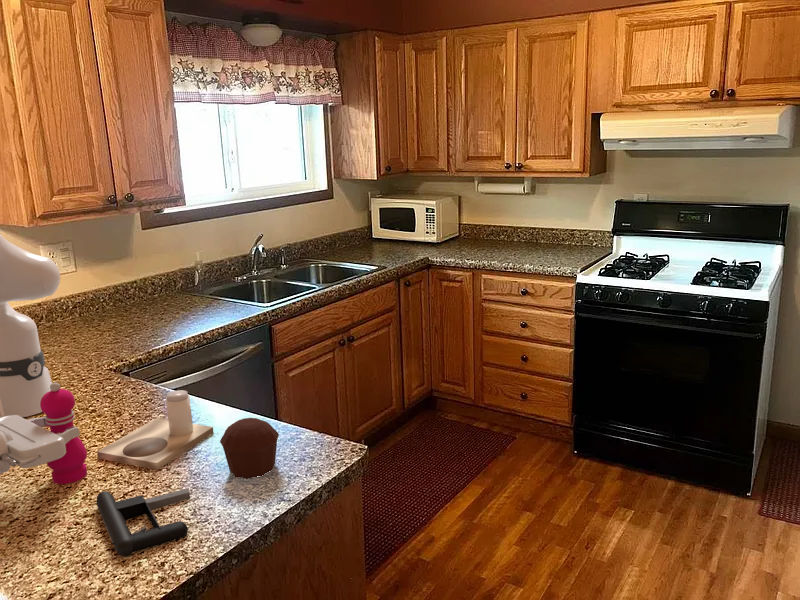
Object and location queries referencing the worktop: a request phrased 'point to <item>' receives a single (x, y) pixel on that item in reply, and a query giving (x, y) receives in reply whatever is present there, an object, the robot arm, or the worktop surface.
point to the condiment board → (153, 445)
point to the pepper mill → (59, 418)
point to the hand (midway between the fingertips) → (65, 424)
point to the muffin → (250, 447)
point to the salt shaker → (179, 413)
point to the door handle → (135, 507)
